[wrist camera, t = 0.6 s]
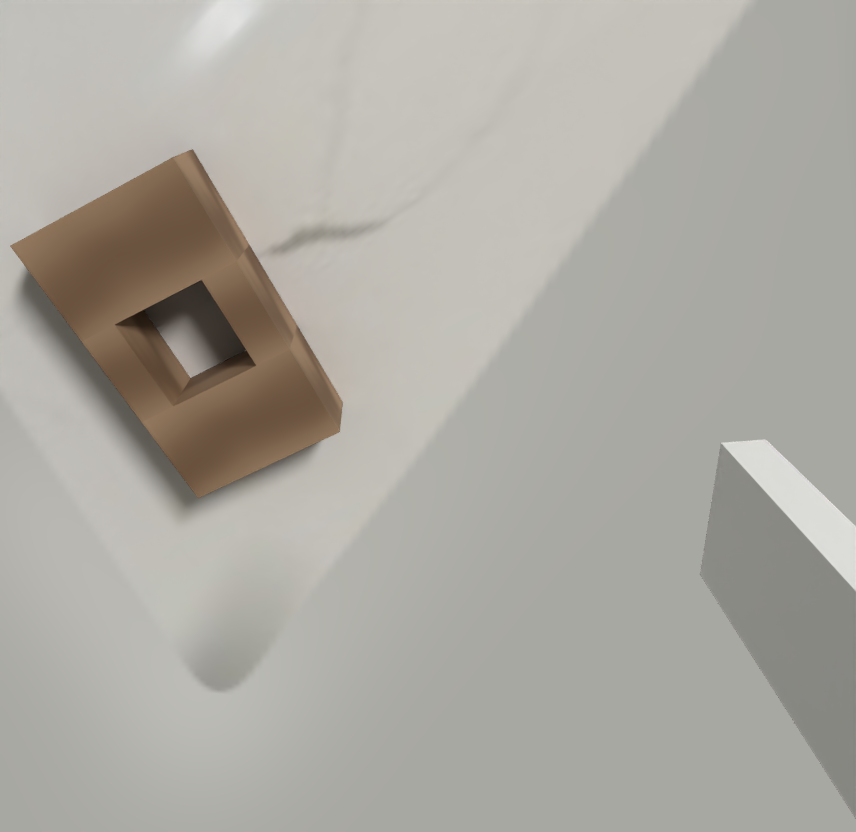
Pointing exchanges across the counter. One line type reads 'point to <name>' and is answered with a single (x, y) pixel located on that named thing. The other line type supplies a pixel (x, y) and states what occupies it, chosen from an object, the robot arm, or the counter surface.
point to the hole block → (146, 349)
